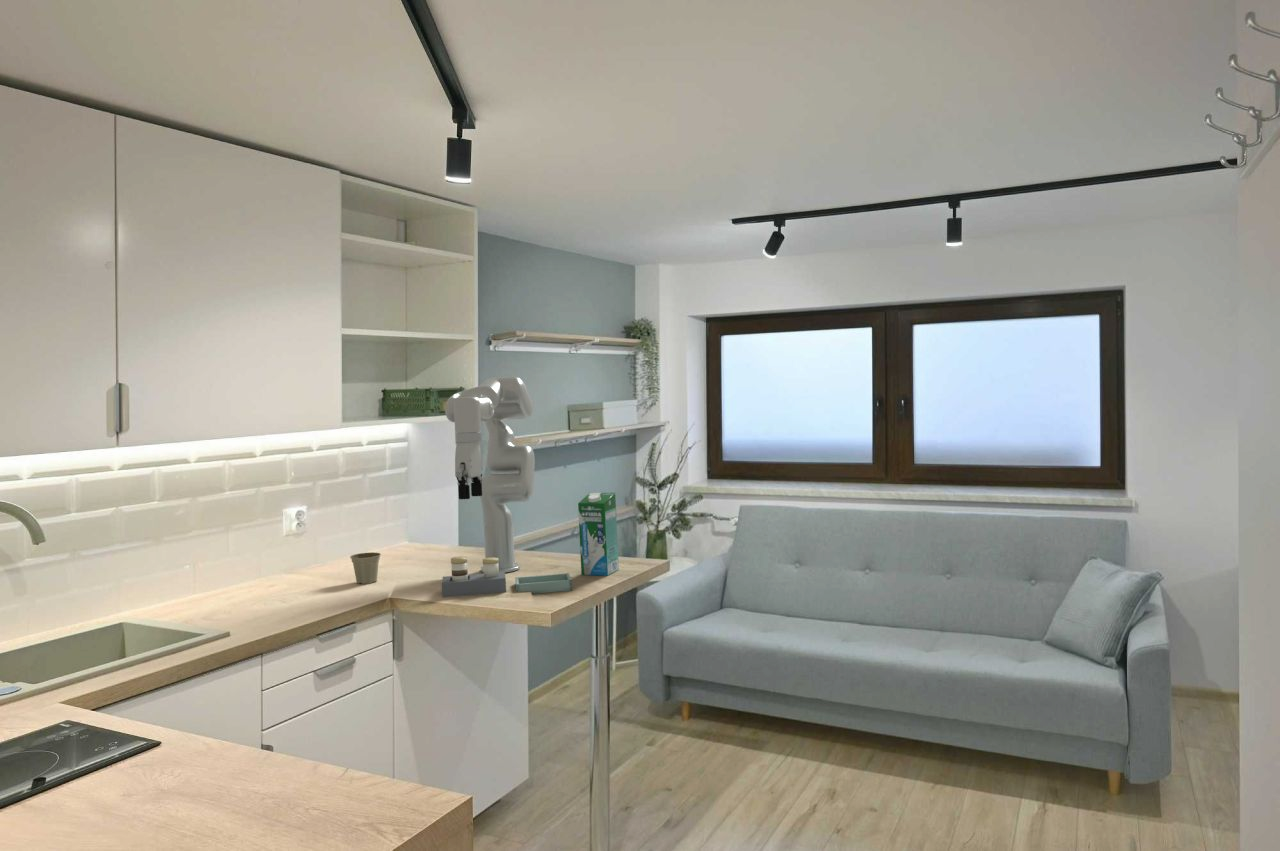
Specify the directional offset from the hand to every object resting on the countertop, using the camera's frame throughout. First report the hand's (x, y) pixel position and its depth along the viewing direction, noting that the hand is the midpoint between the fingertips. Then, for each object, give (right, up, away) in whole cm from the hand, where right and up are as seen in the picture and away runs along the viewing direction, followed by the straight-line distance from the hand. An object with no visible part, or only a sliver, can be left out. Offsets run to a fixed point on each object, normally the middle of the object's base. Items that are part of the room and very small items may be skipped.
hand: (470, 497), depth 259 cm
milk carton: (+37, -26, +22) cm, 50 cm away
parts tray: (+21, -27, +2) cm, 34 cm away
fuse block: (+1, -28, -1) cm, 28 cm away
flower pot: (-37, -29, +23) cm, 52 cm away
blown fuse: (-3, -27, -2) cm, 28 cm away
